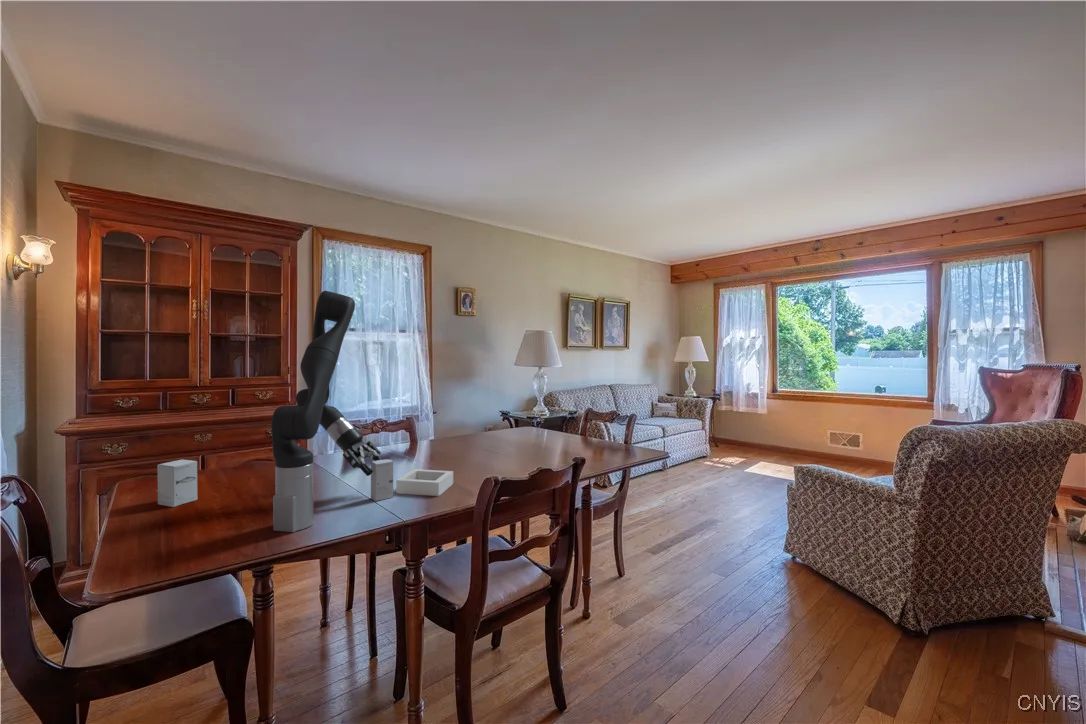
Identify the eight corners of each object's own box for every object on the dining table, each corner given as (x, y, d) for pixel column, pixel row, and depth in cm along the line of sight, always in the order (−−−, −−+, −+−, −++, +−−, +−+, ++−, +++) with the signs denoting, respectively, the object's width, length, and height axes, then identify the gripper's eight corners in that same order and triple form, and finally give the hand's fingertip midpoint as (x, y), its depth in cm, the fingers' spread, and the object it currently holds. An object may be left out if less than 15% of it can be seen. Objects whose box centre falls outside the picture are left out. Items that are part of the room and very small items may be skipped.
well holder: (438, 496, 155) (438, 482, 155) (396, 493, 157) (396, 480, 157) (453, 483, 169) (453, 471, 169) (414, 481, 171) (414, 469, 171)
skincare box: (375, 501, 149) (375, 464, 148) (370, 498, 152) (369, 461, 152) (394, 497, 153) (394, 460, 153) (387, 494, 156) (387, 458, 156)
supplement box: (173, 507, 141) (172, 466, 141) (157, 504, 144) (156, 464, 143) (198, 500, 148) (197, 460, 148) (182, 497, 151) (181, 458, 150)
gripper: (339, 430, 146) (373, 468, 145) (363, 423, 160) (395, 457, 159) (324, 446, 147) (358, 484, 146) (349, 437, 161) (380, 472, 160)
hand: (377, 470), depth 153 cm, fingers open, 8 cm apart
